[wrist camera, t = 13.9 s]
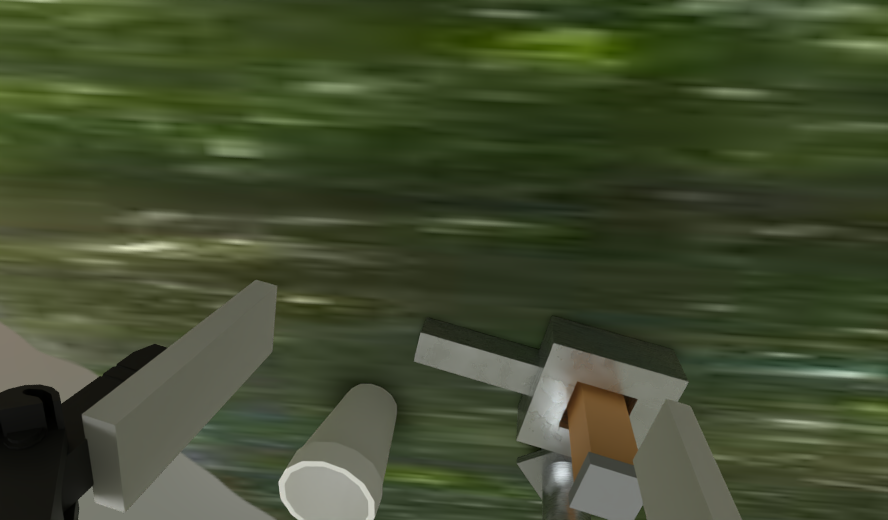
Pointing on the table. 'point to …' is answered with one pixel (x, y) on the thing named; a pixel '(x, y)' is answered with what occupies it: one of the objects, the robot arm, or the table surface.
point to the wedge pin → (602, 454)
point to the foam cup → (343, 460)
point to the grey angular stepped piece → (558, 388)
